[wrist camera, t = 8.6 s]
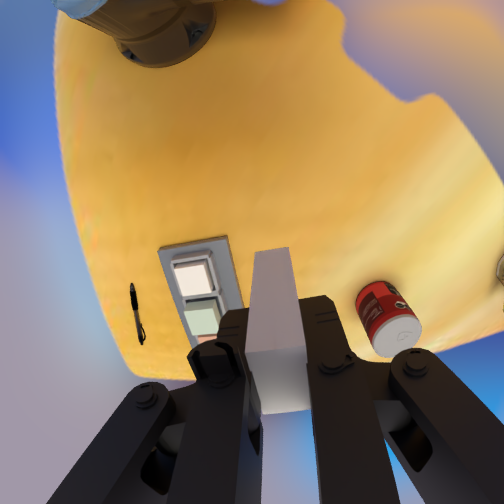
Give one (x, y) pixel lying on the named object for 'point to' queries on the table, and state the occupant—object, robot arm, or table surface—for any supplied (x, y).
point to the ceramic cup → (501, 271)
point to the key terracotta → (206, 337)
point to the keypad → (221, 271)
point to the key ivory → (194, 277)
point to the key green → (202, 317)
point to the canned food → (387, 319)
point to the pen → (136, 314)
